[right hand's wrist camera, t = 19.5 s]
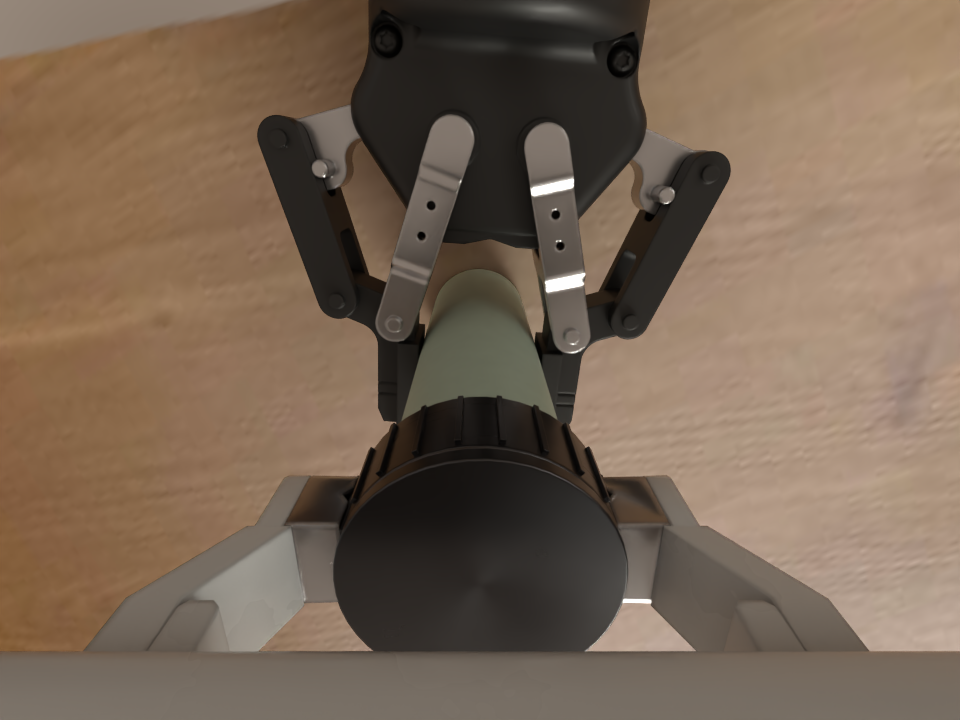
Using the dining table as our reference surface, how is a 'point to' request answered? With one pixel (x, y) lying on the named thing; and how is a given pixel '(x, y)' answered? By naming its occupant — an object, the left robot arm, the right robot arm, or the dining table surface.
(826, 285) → the dining table surface
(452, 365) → the green bottle
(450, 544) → the lid
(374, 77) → the left robot arm
